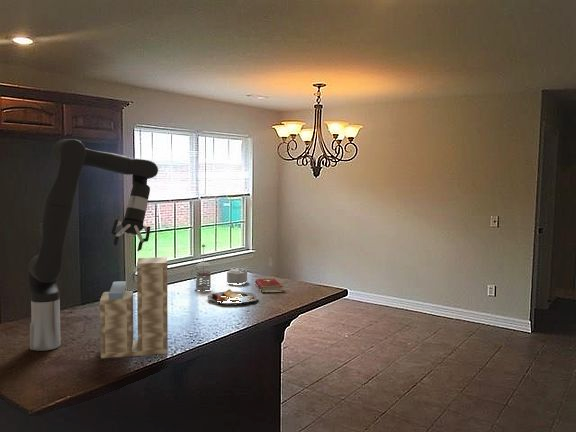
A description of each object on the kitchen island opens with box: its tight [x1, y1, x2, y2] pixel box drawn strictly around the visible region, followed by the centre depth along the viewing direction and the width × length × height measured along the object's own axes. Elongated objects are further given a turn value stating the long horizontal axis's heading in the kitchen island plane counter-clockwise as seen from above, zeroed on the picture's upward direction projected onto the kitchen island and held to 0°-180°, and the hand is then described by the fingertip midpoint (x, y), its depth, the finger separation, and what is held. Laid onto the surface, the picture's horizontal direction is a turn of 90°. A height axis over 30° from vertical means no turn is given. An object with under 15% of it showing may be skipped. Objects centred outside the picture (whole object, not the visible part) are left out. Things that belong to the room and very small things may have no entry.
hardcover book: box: [254, 277, 284, 291], centre depth 281 cm, size 12×21×4 cm, turn 13°
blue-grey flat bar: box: [108, 280, 127, 299], centre depth 179 cm, size 4×20×2 cm, turn 15°
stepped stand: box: [99, 256, 169, 359], centre depth 177 cm, size 22×12×32 cm, turn 104°
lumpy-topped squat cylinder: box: [226, 267, 248, 284], centre depth 294 cm, size 10×13×9 cm
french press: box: [190, 244, 212, 291], centre depth 274 cm, size 10×12×25 cm
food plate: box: [207, 289, 259, 305], centre depth 252 cm, size 25×23×4 cm
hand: (127, 248), depth 197 cm, fingers open, 8 cm apart
